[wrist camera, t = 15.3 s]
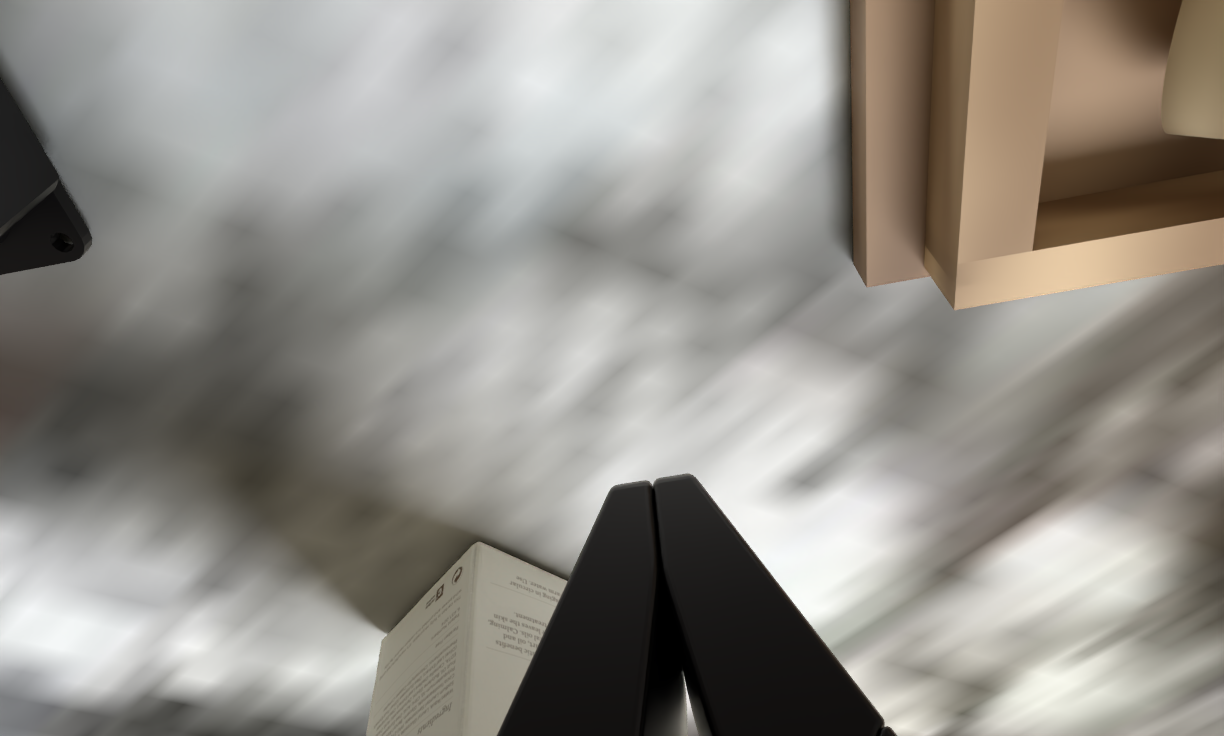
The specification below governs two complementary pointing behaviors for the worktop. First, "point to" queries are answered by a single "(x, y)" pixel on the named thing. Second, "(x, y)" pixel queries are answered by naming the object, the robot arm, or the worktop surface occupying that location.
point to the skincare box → (463, 648)
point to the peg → (1195, 72)
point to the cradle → (1023, 148)
